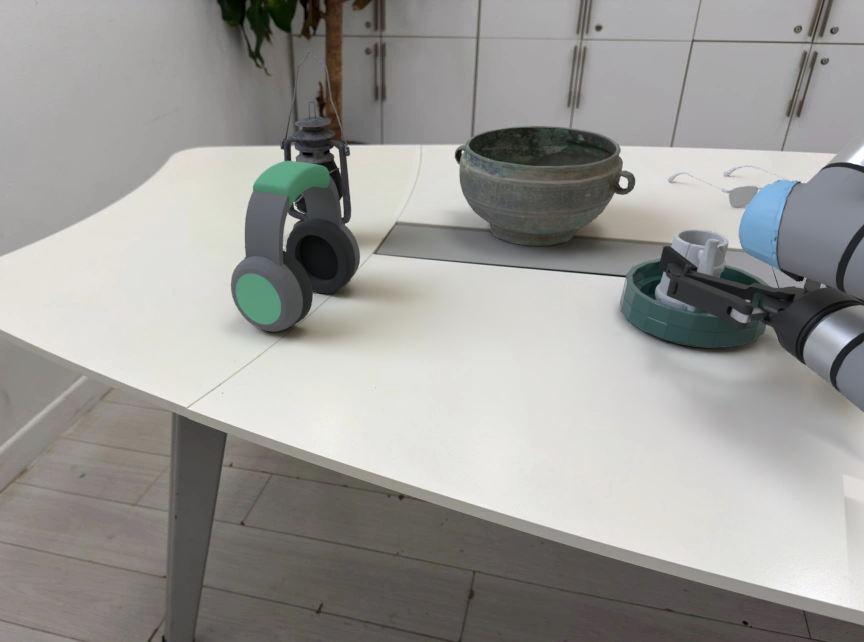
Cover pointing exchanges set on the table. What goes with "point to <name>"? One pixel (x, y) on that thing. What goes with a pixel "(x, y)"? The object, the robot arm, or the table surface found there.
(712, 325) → the dish
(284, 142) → the lantern
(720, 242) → the mug
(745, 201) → the eyeglasses
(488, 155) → the bowl
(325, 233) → the headphones
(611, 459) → the table surface
